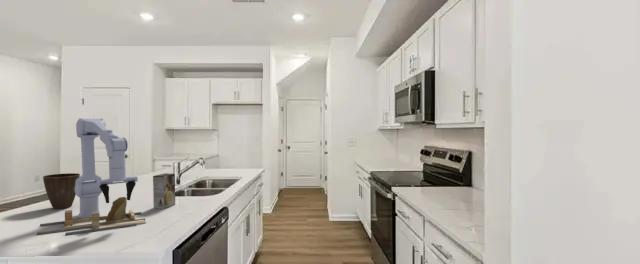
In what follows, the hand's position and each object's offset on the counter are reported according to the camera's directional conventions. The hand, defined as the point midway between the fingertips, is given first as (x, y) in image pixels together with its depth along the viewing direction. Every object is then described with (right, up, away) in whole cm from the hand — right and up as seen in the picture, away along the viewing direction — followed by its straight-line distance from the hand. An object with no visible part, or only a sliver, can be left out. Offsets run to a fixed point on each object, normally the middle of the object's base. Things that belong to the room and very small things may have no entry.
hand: (118, 201), depth 146 cm
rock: (-7, -10, +9) cm, 15 cm away
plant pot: (-46, -9, +32) cm, 57 cm away
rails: (-11, -10, +3) cm, 15 cm away
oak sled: (-11, -10, +6) cm, 16 cm away
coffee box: (+3, -10, +36) cm, 38 cm away
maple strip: (-1, -10, +2) cm, 11 cm away
